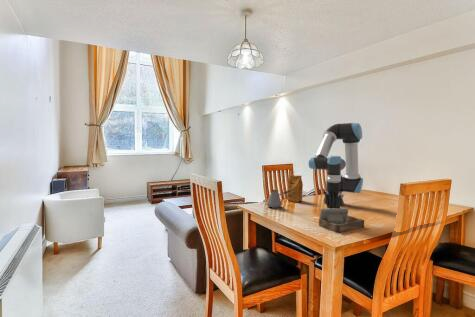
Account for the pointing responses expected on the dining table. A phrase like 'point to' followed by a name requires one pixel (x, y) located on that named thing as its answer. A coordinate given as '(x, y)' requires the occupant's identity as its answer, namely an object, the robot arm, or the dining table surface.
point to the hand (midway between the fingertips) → (332, 220)
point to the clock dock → (350, 225)
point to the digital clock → (334, 215)
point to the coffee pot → (275, 199)
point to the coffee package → (295, 188)
